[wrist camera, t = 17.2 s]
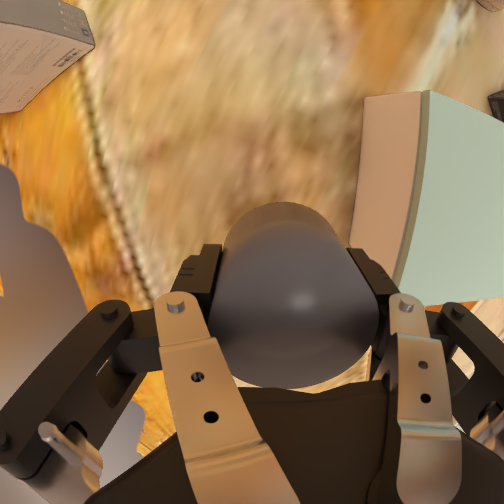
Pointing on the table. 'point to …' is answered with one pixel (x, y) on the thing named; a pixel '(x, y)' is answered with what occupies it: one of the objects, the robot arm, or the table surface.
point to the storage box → (386, 176)
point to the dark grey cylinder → (289, 300)
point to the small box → (497, 105)
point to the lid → (455, 207)
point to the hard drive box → (37, 47)
